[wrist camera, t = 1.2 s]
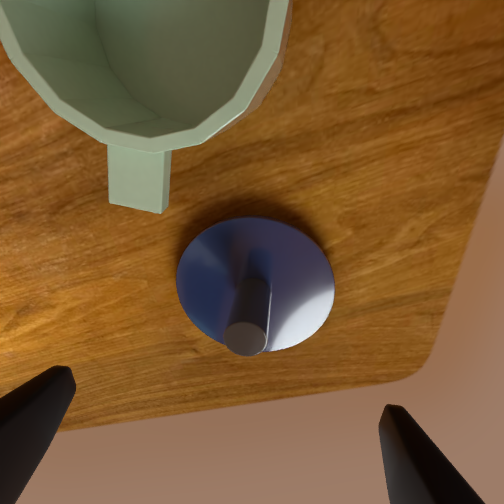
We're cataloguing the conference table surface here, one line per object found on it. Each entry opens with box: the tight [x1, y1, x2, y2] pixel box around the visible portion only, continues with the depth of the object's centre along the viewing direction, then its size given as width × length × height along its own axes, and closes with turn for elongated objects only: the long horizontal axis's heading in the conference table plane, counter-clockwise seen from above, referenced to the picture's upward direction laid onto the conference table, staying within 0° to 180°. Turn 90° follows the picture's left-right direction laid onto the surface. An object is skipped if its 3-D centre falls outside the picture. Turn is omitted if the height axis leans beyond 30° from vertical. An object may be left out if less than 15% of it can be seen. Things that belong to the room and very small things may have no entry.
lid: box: [176, 215, 335, 356], centre depth 19 cm, size 11×11×6 cm
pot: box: [0, 0, 292, 214], centre depth 12 cm, size 10×15×6 cm, turn 169°
